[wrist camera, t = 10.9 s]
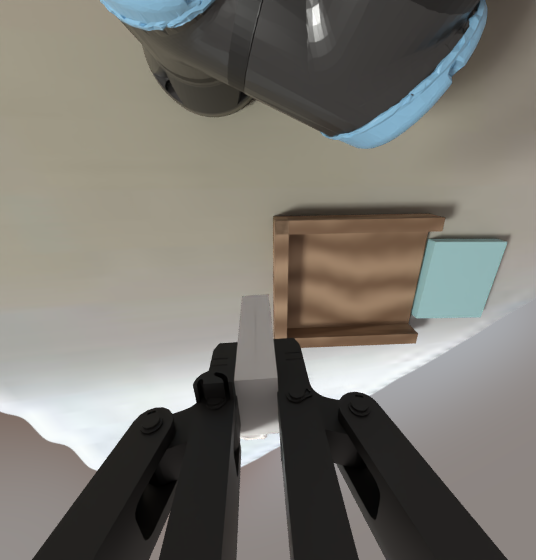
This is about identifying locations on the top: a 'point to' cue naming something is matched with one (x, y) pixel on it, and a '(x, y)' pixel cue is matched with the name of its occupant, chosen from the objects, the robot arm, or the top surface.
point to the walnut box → (348, 277)
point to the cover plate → (456, 277)
